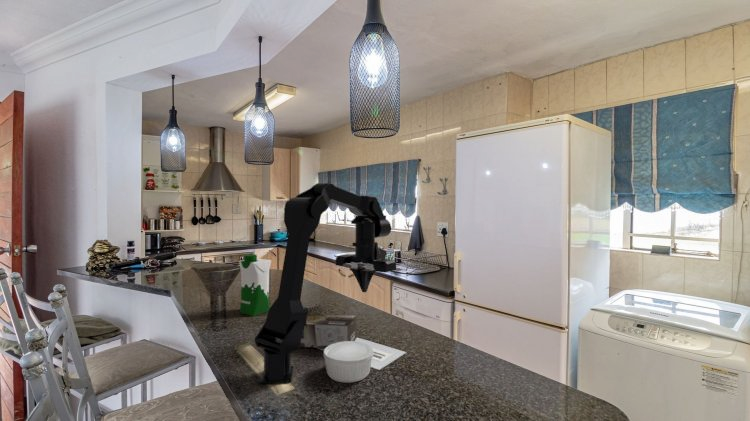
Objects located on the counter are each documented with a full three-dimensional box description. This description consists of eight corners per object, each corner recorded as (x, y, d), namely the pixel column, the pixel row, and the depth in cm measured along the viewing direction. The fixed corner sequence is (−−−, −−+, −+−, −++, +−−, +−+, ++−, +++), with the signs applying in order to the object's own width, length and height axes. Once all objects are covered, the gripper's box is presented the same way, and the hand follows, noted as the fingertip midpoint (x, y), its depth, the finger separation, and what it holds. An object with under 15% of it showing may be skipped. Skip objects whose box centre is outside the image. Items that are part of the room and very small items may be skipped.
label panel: (406, 352, 91) (406, 351, 91) (379, 370, 81) (379, 369, 81) (341, 333, 103) (341, 332, 103) (311, 346, 94) (311, 345, 94)
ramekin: (326, 361, 85) (326, 340, 85) (373, 362, 85) (373, 340, 85) (319, 385, 74) (319, 360, 74) (373, 386, 74) (373, 361, 74)
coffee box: (289, 347, 93) (348, 351, 90) (288, 322, 93) (347, 325, 90) (303, 335, 102) (357, 338, 99) (303, 313, 102) (357, 315, 99)
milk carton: (236, 313, 121) (236, 254, 121) (257, 306, 129) (257, 251, 129) (252, 317, 117) (253, 257, 116) (274, 310, 124) (274, 254, 124)
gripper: (406, 239, 105) (405, 291, 105) (357, 235, 116) (357, 282, 116) (385, 242, 96) (384, 299, 96) (334, 237, 107) (333, 289, 107)
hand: (364, 291), depth 104 cm, fingers closed
